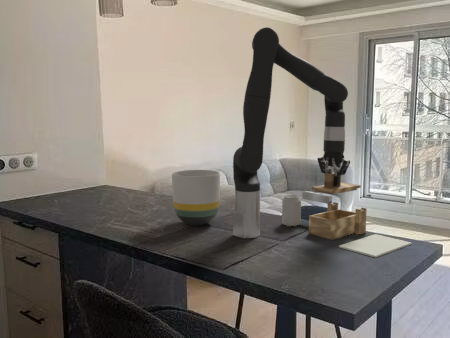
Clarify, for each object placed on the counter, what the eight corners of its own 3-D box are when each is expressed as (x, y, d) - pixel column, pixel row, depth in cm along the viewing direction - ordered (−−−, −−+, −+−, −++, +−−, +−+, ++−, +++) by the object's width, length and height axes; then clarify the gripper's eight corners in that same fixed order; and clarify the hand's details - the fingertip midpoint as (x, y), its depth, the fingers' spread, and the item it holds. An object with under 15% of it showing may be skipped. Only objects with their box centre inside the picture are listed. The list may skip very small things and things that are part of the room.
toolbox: (336, 241, 155) (337, 215, 154) (304, 232, 166) (305, 208, 165) (366, 232, 166) (367, 208, 165) (334, 224, 177) (334, 202, 176)
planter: (229, 223, 181) (229, 172, 178) (195, 233, 167) (194, 177, 164) (197, 216, 194) (196, 168, 191) (163, 224, 180) (162, 173, 177)
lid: (330, 195, 155) (331, 176, 154) (311, 191, 162) (312, 173, 161) (360, 189, 166) (361, 172, 165) (341, 186, 173) (342, 169, 172)
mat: (375, 257, 137) (375, 255, 137) (338, 247, 148) (338, 245, 148) (411, 244, 151) (411, 242, 151) (375, 235, 162) (375, 234, 162)
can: (300, 227, 174) (300, 197, 172) (281, 226, 175) (281, 197, 174) (300, 222, 181) (301, 194, 180) (282, 222, 183) (283, 193, 181)
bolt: (328, 203, 174) (328, 196, 174) (302, 198, 185) (302, 191, 185) (331, 203, 176) (332, 195, 175) (305, 198, 186) (305, 190, 186)
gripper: (312, 138, 163) (311, 184, 165) (343, 140, 152) (341, 189, 154) (325, 138, 168) (323, 182, 170) (356, 139, 157) (354, 187, 159)
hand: (332, 185), depth 162 cm, fingers closed on lid, 2 cm apart
